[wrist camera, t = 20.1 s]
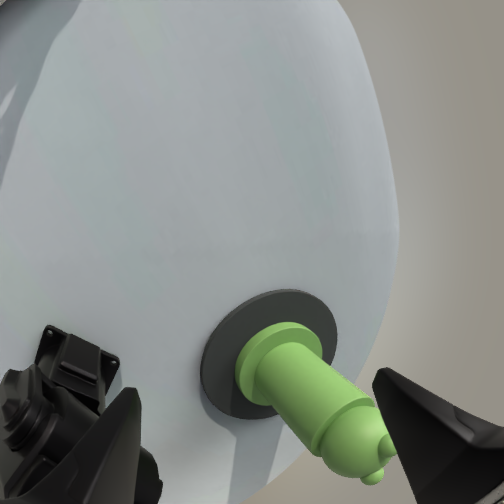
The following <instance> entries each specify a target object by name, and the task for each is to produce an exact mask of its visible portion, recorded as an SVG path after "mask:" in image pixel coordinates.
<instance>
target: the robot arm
mask: <svg viewBox="0 0 504 504" xmlns="http://www.w3.org/2000/svg"><path fill="white" fill-rule="evenodd" d="M48 330H50V331H52V333H53V334H50V333H48ZM111 361H115V362H116V363H111ZM119 365H120V360H119V358H118V357H117V356H115V355H112V354H110V353H108V352H105V351H103V350H101V349H100V348H99V347H98V346H96V345H94V344H91V343H89V342H87V341H85V340H83V339H81V338H79V337H77V336H75V335H73V334H67V333H65V332H63V331H62V330H60V329H58V328H56V327H54V326H52V325H47V326H46V327H45V329H44V332H43V335H42V338H41V341H40V345H39V348H38V351H37V355H36V359H35V362H34V364H33V365H31V366H30V367H29V368H27V369H26V370H24V371H23V372H22V371H16V370H12V369H9V370H8V371H7V372H6V373H5V375H4V377H3V379H2V381H1V384H0V504H158V501H159V499H160V497H161V493H162V487H163V482H162V480H160V479H159V474H158V467H157V463H156V462H155V460H154V458H153V456H152V454H151V453H149V452H148V451H147V450H146V449H145V448H143V447H141V446H140V444H141V409H142V407H141V401H140V398H139V395H138V391H137V389H136V388H132V387H125V388H124V389H123V390H122V391H121V392H120V393H119V394H118V396H117V397H116V398H115V399H114V400H113V401H112V403H111V404H110V405H109V406H108V407H107V408H106V410H105V396H106V394H107V392H108V390H109V387H110V385H111V383H112V381H113V379H114V376H115V374H116V372H117V370H118V368H119ZM372 388H373V392H374V395H375V398H376V401H377V404H378V407H379V410H380V414H381V417H382V419H383V422H384V424H385V426H386V429H387V431H388V433H389V435H390V438H391V440H392V442H393V445H394V447H395V449H396V452H397V454H398V457H399V459H400V461H401V464H402V466H403V469H404V471H405V474H406V476H407V478H408V481H409V483H410V486H411V489H412V491H413V494H414V495H415V499H416V501H417V504H504V427H501V426H497V425H495V424H493V423H490V422H488V421H485V420H483V419H481V418H478V417H476V416H474V415H472V414H469V413H467V412H466V411H464V410H462V409H460V408H458V407H456V406H453V404H451V403H449V402H447V401H446V400H444V399H442V398H440V397H438V396H437V395H435V394H433V393H432V392H429V391H428V390H426V389H424V388H423V387H421V386H419V385H418V384H416V383H414V382H412V381H411V380H409V379H407V378H406V377H404V376H402V375H401V374H399V373H397V372H395V371H394V370H392V369H390V368H388V367H386V368H381V369H379V370H378V371H377V373H376V376H375V378H374V381H373V383H372Z"/></svg>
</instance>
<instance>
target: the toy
mask: <svg viewBox="0 0 504 504" xmlns="http://www.w3.org/2000/svg"><path fill="white" fill-rule="evenodd" d="M235 380H236V384H237V386H238V387H239V389H240V390H241V392H242V393H243V395H244V396H245V397H246V398H247V399H248V400H249V401H251V402H253V403H255V404H259V405H266V406H268V405H272V406H273V408H274V409H275V410H276V411H277V413H278V414H279V415H280V416H281V418H282V419H283V420H284V421H285V422H286V424H287V425H288V426H289V427H290V428H291V430H292V431H293V432H294V433H295V434H296V436H297V437H298V438H299V439H300V440H301V442H302V443H303V444H304V445H305V446H306V447H307V449H308V450H309V451H310V452H311V453H312V454H313V455H315V456H317V457H322V458H323V460H324V462H325V464H326V465H327V466H328V468H329V469H331V470H332V471H333V472H335V473H336V474H338V475H341V476H344V477H348V478H360V479H361V481H362V483H364V484H366V485H375V484H377V483H378V482H380V481H381V479H382V477H383V476H384V470H383V467H384V466H385V465H386V464H387V463H388V462H389V460H390V459H391V457H392V456H395V455H396V454H397V452H396V449H395V447H394V445H393V442H392V440H391V438H390V435H389V433H388V431H387V429H386V426H385V424H384V422H383V419H382V417H381V414H380V410H379V409H377V408H375V404H374V401H373V400H372V399H371V398H370V397H369V396H368V395H366V394H365V393H363V392H362V391H361V390H360V389H359V388H357V387H356V386H355V385H353V384H352V383H351V382H350V381H348V380H347V379H346V378H344V377H343V376H342V375H341V374H339V373H338V372H337V371H335V370H334V369H333V368H332V367H330V366H329V365H328V364H327V363H325V362H324V361H323V360H322V347H321V343H320V341H319V339H318V337H317V336H316V335H315V334H314V333H313V332H312V331H311V330H309V329H308V328H306V327H305V326H303V325H301V324H298V323H294V322H282V323H277V324H274V325H271V326H269V327H267V328H265V329H263V330H261V331H260V332H258V333H257V334H256V335H255V336H253V337H252V338H251V339H250V340H249V341H248V342H247V343H246V345H245V346H244V347H243V349H242V350H241V352H240V354H239V356H238V358H237V361H236V365H235Z"/></svg>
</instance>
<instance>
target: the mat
mask: <svg viewBox="0 0 504 504" xmlns="http://www.w3.org/2000/svg"><path fill="white" fill-rule="evenodd" d="M282 322H294V323H298V324H301V325H303V326H305V327H306V328H308V329H309V330H311V331H312V332H313V333H314V334H315V335H316V336H317V337H318V339H319V341H320V343H321V347H322V360H323V361H324V362H325V363H327V364H328V365H329V366H331V363H332V361H333V358H334V355H335V351H336V346H337V327H336V323H335V319H334V317H333V315H332V313H331V311H330V310H329V308H328V307H327V306H326V305H325V304H324V303H323V302H322V301H321V300H320V299H318V298H317V297H315V296H313V295H311V294H309V293H307V292H303V291H300V290H293V289H281V290H275V291H270V292H267V293H263V294H260V295H258V296H256V297H254V298H251V299H250V300H248V301H246V302H244V303H243V304H241V305H240V306H238V307H237V308H236V309H234V310H233V311H232V312H231V313H230V314H229V315H228V316H226V317H225V318H224V319H223V321H222V322H221V323H220V324H219V325H218V326H217V328H216V329H215V331H214V332H213V334H212V335H211V337H210V339H209V341H208V343H207V345H206V347H205V350H204V353H203V356H202V361H201V372H200V374H201V382H202V385H203V388H204V391H205V393H206V395H207V396H208V398H209V400H210V401H211V402H212V404H213V405H214V406H215V407H216V408H218V409H219V410H220V411H222V412H223V413H225V414H227V415H230V416H232V417H236V418H240V419H263V418H267V417H271V416H274V415H277V414H278V413H277V411H276V410H275V409H274V408H273V406H272V405H268V406H266V405H259V404H255V403H253V402H251V401H249V400H248V399H247V398H246V397H245V396H244V395H243V393H242V392H241V390H240V389H239V387H238V386H237V384H236V380H235V365H236V361H237V358H238V356H239V354H240V352H241V350H242V349H243V347H244V346H245V345H246V343H247V342H248V341H249V340H250V339H251V338H252V337H253V336H255V335H256V334H257V333H258V332H260V331H261V330H263V329H265V328H267V327H269V326H271V325H274V324H277V323H282Z"/></svg>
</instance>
